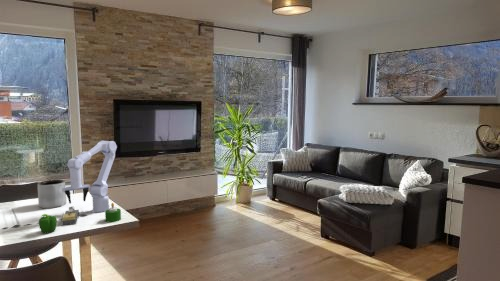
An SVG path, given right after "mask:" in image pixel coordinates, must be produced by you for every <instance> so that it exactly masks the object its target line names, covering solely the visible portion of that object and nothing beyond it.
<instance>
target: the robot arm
mask: <svg viewBox="0 0 500 281" xmlns="http://www.w3.org/2000/svg"><path fill="white" fill-rule="evenodd" d="M117 148H118V145H117V144H116V141H114V140H110V141H109V140H100V141H99V142H97V144H96V145H94V146H93V147H92V148H90V149H89V150H88V151H82V152H80V154H78V155H76V156H75V157H74V158H70V159H69V160H68V161H67V164H66V166H67V167H68V170H69V176H70V178H69V179H70V186H67V187H66V186H65V188H62V191H63V192H65V193H66V198H67V199H68V203H69V204H72V200H71V191H77V190H82V193H83V194H82V195H83V196H82V198H83V202H86V199H87V196H88V192H89V195H91V197H92V198H91V199H92V212H91V213H93V214H95V213H102V212H104V213H105V211H106V210H108V209H109V208H110V204H109V195H107V194H108V188H109V185H108V184H107V181H108V178H109V175H110V172H111V169H112V166H113V163H114V161H115V158H116V151H117ZM99 152H101V153H102V154H103V155H104V159H103V162H102V165H101V168H100V171H99V174H98V176H97V180H95V181H94V182H93V183H92V185H90V184H82V170H81V169H82V168H83V165H84V164H86V163H87V162H88V161H90V160H91V159H92V156H94V155H96V154H97V153H99Z"/></svg>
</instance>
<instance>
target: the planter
mask: <svg viewBox="0 0 500 281" xmlns="http://www.w3.org/2000/svg"><path fill="white" fill-rule="evenodd" d="M62 188H66V181H65V180H64V179H50V180H44V181H43V180H42V181H40V182H37V197H38V198H37V200H38V207H40V208H41V209H54V208H60V207H62V206H64V205H66V204H67V195H66V193H65V192H63V191H62Z"/></svg>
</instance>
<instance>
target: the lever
mask: <svg viewBox="0 0 500 281" xmlns="http://www.w3.org/2000/svg"><path fill="white" fill-rule="evenodd" d="M74 210H75V206H69V207H68V210H67V211H68V214H69V213H73V211H74Z"/></svg>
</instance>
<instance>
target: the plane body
mask: <svg viewBox="0 0 500 281" xmlns="http://www.w3.org/2000/svg"><path fill="white" fill-rule="evenodd" d="M68 211H69V210H65V211H64V212H65V213H64V214H68ZM73 213H76V217H75V219H74V220H65V221H63V218H62V220H61V226H69V225H77V222H78V219H79V216H80V210H79V209H74V211H73Z"/></svg>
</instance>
